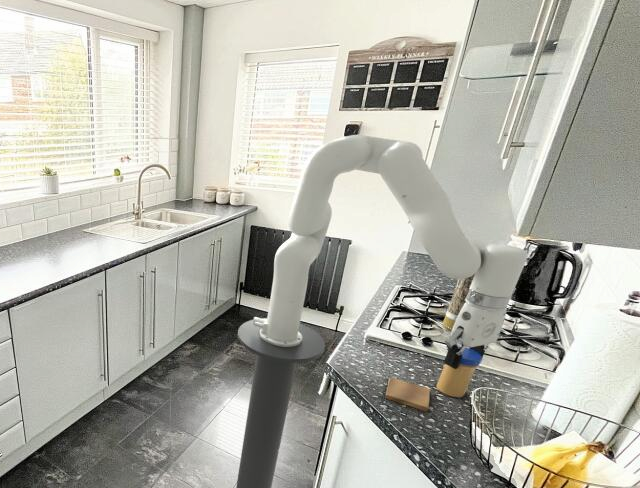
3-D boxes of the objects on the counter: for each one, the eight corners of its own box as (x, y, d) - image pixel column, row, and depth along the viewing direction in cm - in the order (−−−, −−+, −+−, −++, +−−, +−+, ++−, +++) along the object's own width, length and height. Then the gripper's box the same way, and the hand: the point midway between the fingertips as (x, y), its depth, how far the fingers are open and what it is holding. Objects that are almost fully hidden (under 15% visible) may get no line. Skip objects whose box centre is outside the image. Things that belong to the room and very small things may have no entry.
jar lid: (486, 365, 102) (489, 359, 101) (462, 367, 101) (464, 361, 100) (464, 351, 108) (466, 345, 107) (440, 352, 107) (443, 346, 106)
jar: (435, 391, 108) (449, 357, 103) (436, 380, 112) (449, 347, 108) (464, 400, 105) (480, 365, 100) (464, 388, 109) (478, 354, 105)
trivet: (384, 398, 106) (385, 394, 105) (388, 380, 112) (389, 377, 112) (427, 411, 101) (428, 407, 100) (428, 392, 108) (430, 389, 107)
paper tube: (471, 330, 137) (500, 258, 126) (459, 335, 134) (488, 261, 124) (449, 322, 143) (475, 251, 132) (437, 326, 140) (463, 254, 129)
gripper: (476, 310, 92) (449, 378, 99) (531, 300, 96) (502, 365, 104) (443, 296, 98) (421, 361, 106) (497, 288, 103) (472, 350, 111)
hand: (461, 363), depth 105 cm, fingers closed on jar lid, 6 cm apart
